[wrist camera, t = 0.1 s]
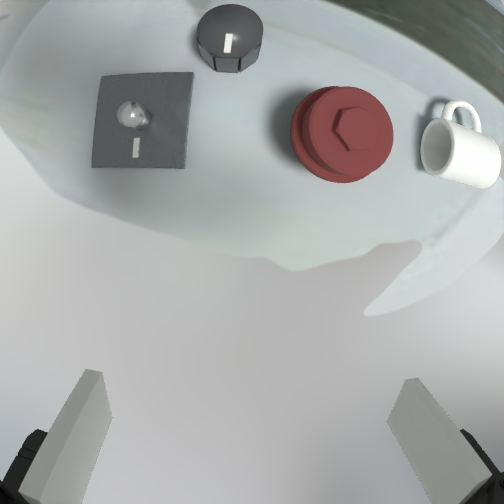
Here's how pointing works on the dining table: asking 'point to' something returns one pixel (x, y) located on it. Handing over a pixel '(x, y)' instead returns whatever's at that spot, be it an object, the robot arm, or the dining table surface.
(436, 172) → the mug
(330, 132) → the mechanical component
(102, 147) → the metal plate
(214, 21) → the knob
